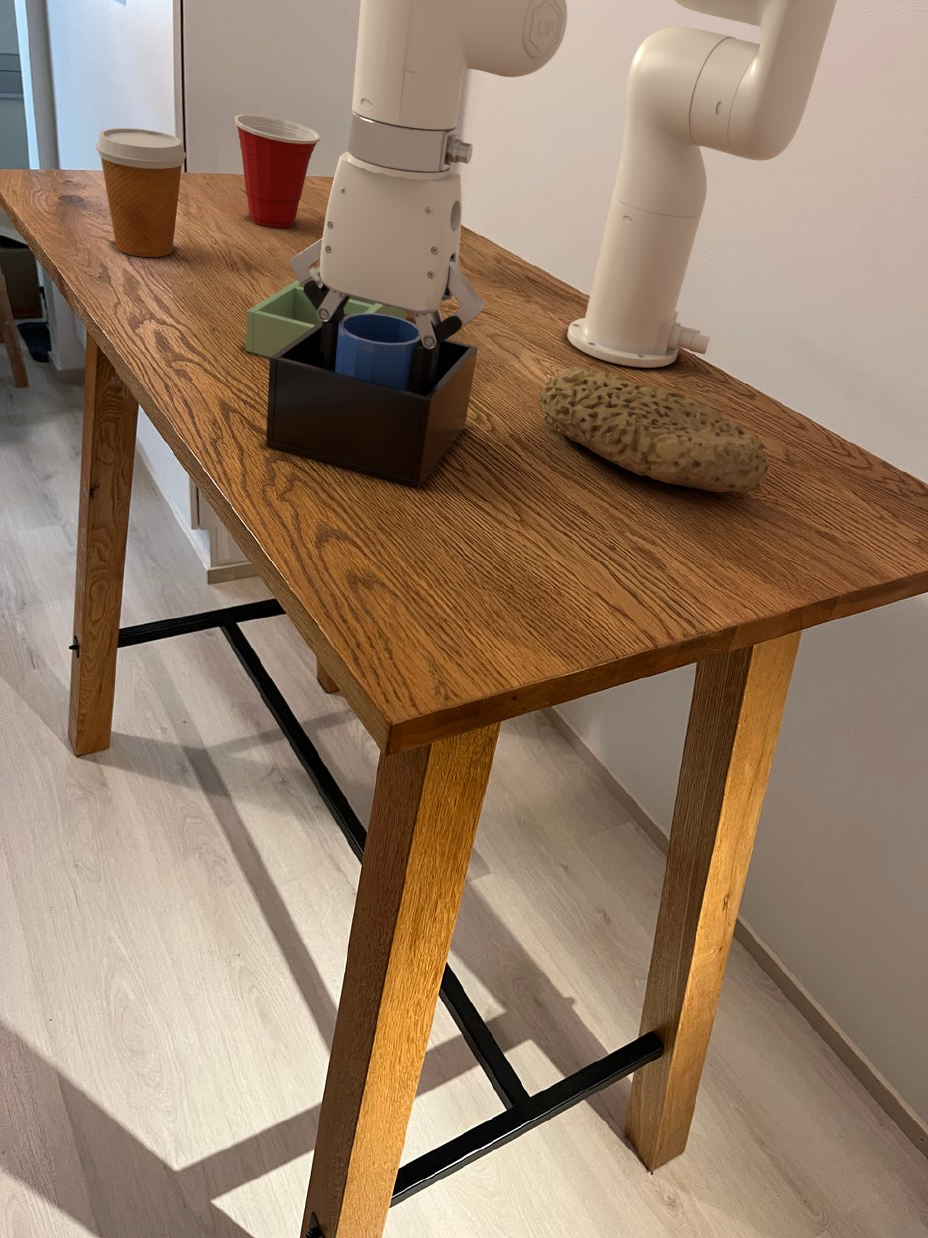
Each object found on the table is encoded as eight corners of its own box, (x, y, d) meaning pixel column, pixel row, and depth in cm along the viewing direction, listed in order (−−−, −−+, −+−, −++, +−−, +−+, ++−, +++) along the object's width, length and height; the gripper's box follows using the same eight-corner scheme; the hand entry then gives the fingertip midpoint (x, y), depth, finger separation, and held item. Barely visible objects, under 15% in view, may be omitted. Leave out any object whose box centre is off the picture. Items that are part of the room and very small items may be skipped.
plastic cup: (308, 239, 131) (315, 138, 124) (224, 225, 130) (226, 123, 123) (319, 217, 140) (326, 122, 133) (240, 204, 139) (243, 108, 132)
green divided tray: (406, 319, 112) (410, 283, 110) (340, 376, 97) (343, 335, 94) (322, 298, 113) (325, 262, 111) (245, 350, 98) (246, 310, 96)
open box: (464, 427, 91) (478, 346, 87) (417, 488, 81) (430, 400, 76) (328, 391, 93) (335, 310, 89) (265, 446, 83) (269, 357, 78)
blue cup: (420, 425, 89) (434, 326, 84) (394, 456, 83) (407, 351, 78) (348, 406, 90) (357, 306, 85) (317, 435, 84) (325, 330, 79)
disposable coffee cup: (204, 253, 120) (204, 144, 113) (142, 267, 113) (138, 151, 106) (146, 231, 123) (143, 124, 116) (82, 243, 116) (75, 129, 109)
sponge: (519, 443, 93) (681, 504, 79) (536, 356, 91) (706, 404, 76) (618, 449, 101) (781, 505, 87) (636, 370, 99) (807, 414, 85)
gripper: (527, 163, 75) (487, 388, 86) (311, 114, 78) (297, 338, 88) (502, 180, 69) (462, 420, 80) (268, 126, 72) (259, 365, 82)
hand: (376, 375), depth 84 cm, fingers closed on blue cup, 6 cm apart
